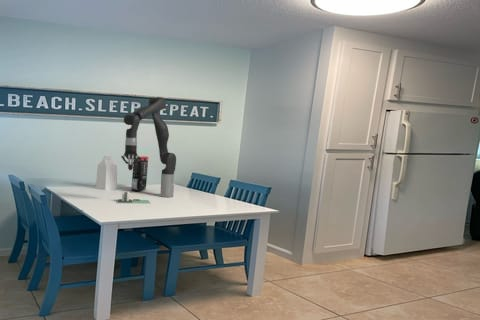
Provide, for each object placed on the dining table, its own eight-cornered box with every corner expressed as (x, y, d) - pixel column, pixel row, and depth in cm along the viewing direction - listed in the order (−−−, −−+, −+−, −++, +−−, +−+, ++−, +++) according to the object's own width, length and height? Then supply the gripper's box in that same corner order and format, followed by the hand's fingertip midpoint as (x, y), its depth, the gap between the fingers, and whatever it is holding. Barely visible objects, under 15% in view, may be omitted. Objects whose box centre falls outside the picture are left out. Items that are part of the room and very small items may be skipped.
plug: (128, 201, 306) (128, 191, 306) (128, 202, 303) (129, 192, 302) (121, 200, 305) (122, 191, 304) (122, 201, 301) (122, 192, 301)
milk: (105, 190, 355) (106, 157, 353) (95, 188, 361) (96, 155, 359) (117, 189, 365) (118, 156, 363) (107, 187, 371) (108, 155, 369)
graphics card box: (138, 188, 374) (140, 155, 372) (146, 189, 373) (148, 156, 371) (131, 191, 357) (132, 156, 355) (139, 192, 356) (141, 157, 354)
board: (147, 201, 316) (148, 198, 316) (150, 204, 302) (150, 202, 302) (115, 201, 308) (115, 198, 308) (116, 204, 295) (116, 201, 295)
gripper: (140, 144, 311) (139, 169, 312) (120, 143, 306) (119, 169, 308) (141, 145, 304) (140, 170, 305) (121, 144, 299) (120, 170, 301)
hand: (130, 170), depth 306 cm, fingers closed
